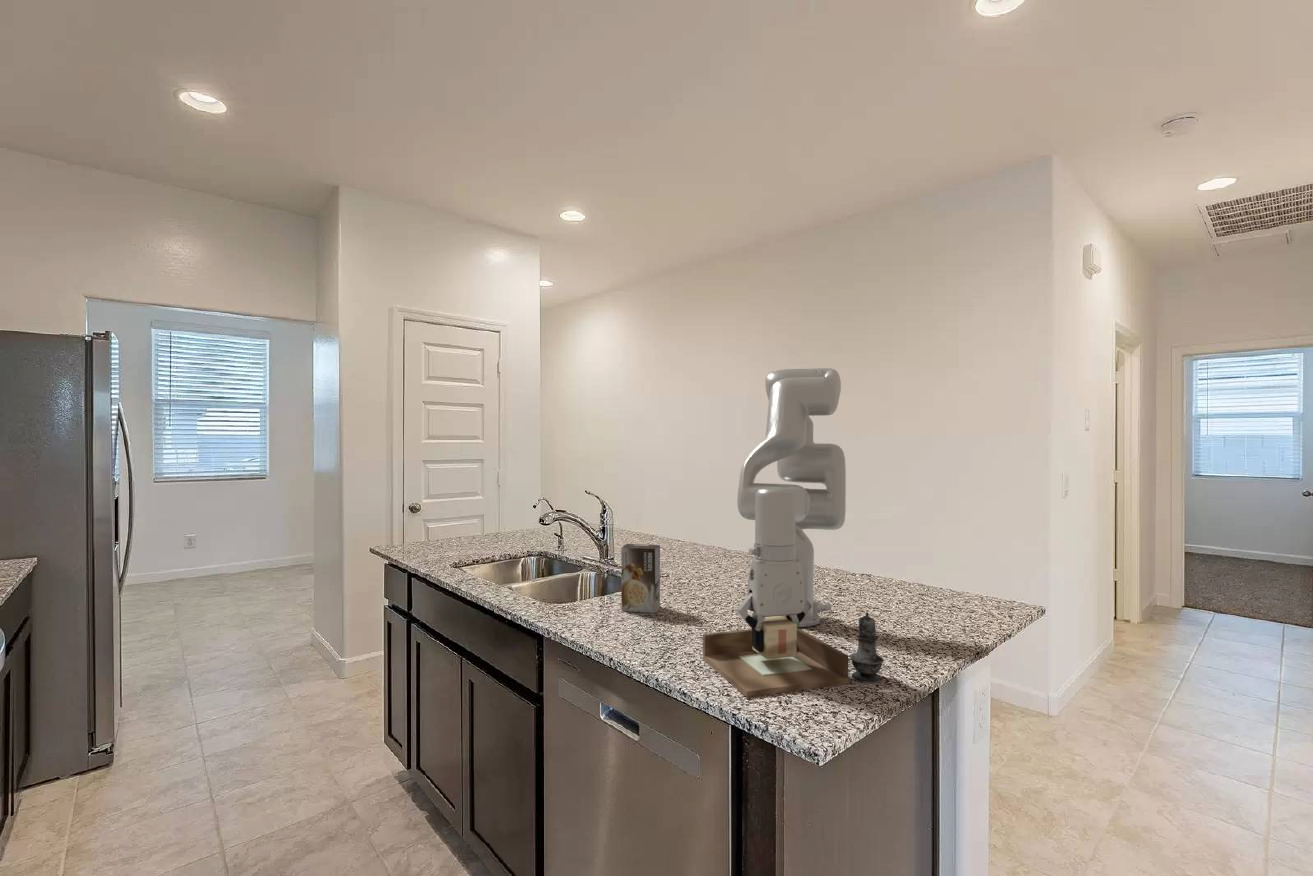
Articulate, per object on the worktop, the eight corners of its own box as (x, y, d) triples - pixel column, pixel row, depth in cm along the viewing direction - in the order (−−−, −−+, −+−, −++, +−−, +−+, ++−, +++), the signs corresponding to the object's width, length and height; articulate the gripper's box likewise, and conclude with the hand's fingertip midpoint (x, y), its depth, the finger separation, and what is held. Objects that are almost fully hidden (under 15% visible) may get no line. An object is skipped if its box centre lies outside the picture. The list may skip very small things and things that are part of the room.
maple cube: (796, 656, 117) (796, 624, 117) (767, 659, 115) (768, 626, 115) (780, 646, 123) (780, 615, 123) (752, 649, 121) (752, 617, 121)
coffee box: (661, 607, 162) (661, 544, 162) (655, 613, 156) (656, 548, 156) (626, 604, 164) (627, 543, 164) (620, 611, 158) (620, 547, 158)
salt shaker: (844, 672, 117) (845, 607, 117) (875, 671, 118) (875, 607, 118) (857, 684, 112) (857, 616, 112) (889, 683, 112) (890, 616, 112)
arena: (792, 649, 130) (792, 625, 130) (848, 683, 112) (848, 655, 112) (702, 659, 123) (703, 634, 123) (746, 697, 105) (746, 667, 105)
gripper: (742, 558, 113) (741, 659, 112) (825, 554, 118) (824, 650, 118) (724, 551, 120) (724, 646, 120) (804, 547, 125) (803, 638, 125)
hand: (774, 647), depth 119 cm, fingers closed on maple cube, 6 cm apart
